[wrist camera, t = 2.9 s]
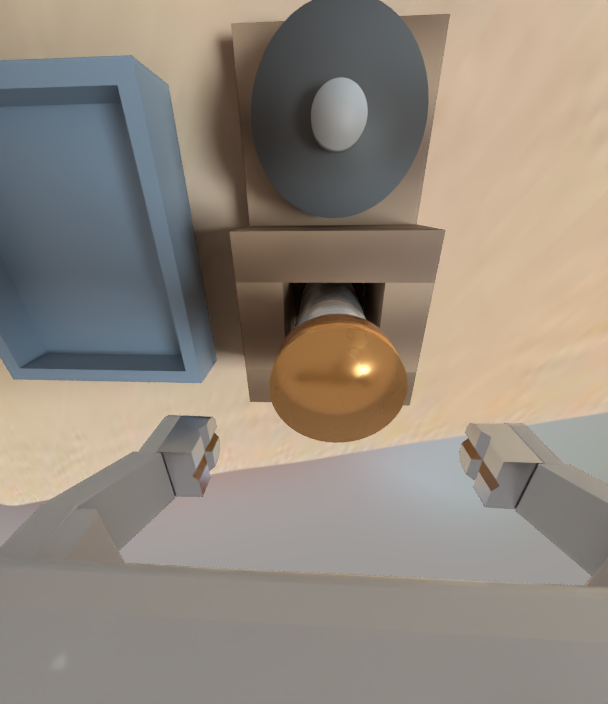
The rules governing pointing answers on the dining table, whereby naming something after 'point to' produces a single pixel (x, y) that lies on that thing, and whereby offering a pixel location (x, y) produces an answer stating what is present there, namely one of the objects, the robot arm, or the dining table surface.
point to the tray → (96, 227)
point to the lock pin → (336, 369)
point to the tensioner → (336, 170)
